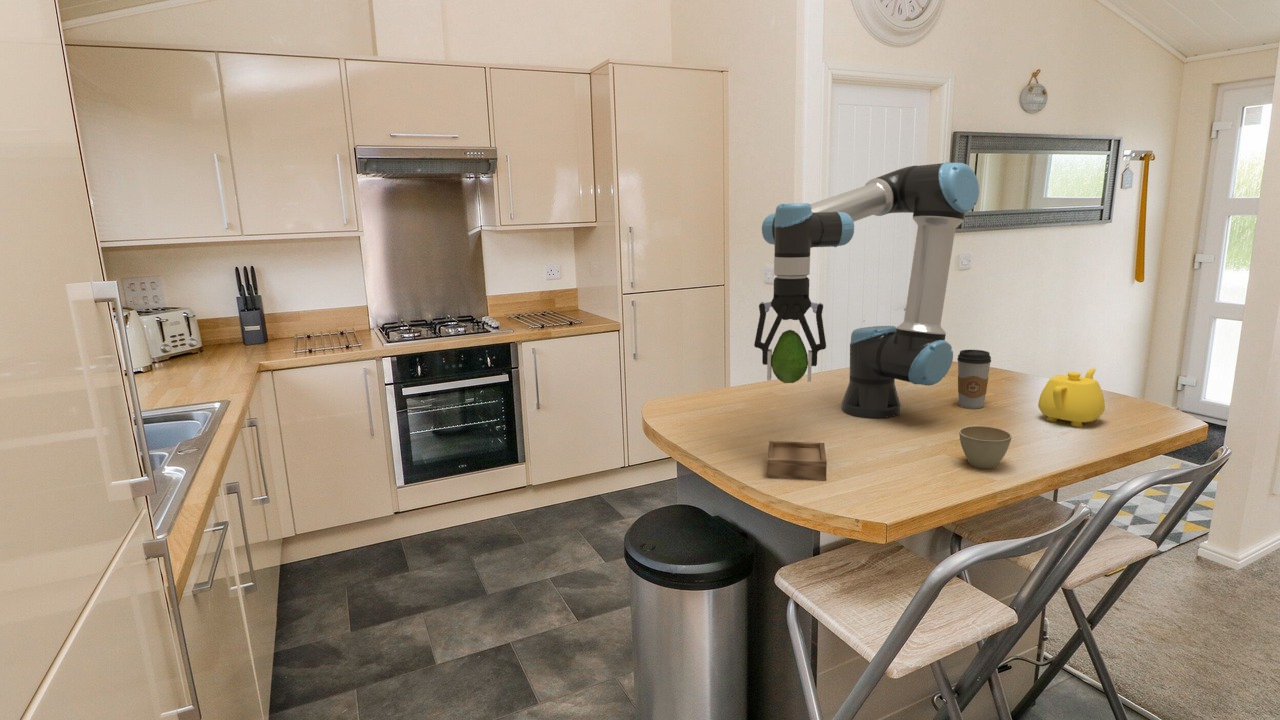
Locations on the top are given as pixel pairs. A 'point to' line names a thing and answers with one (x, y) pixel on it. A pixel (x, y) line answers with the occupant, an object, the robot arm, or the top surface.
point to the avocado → (789, 357)
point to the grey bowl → (984, 445)
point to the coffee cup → (973, 378)
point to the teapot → (1072, 398)
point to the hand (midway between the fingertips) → (789, 379)
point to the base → (796, 460)
